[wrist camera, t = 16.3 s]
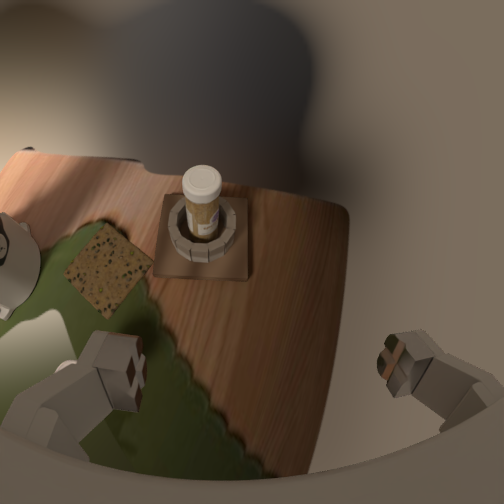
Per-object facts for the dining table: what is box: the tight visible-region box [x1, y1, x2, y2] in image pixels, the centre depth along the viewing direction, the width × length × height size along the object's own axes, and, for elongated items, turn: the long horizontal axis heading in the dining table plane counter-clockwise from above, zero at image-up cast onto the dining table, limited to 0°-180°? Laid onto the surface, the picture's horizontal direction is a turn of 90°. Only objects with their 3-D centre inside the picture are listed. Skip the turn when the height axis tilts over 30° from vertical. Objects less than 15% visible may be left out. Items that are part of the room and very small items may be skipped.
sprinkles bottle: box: [182, 165, 222, 244], centre depth 36 cm, size 5×5×14 cm
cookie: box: [64, 223, 154, 319], centre depth 39 cm, size 12×12×1 cm
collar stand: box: [153, 194, 248, 282], centre depth 41 cm, size 14×14×6 cm
